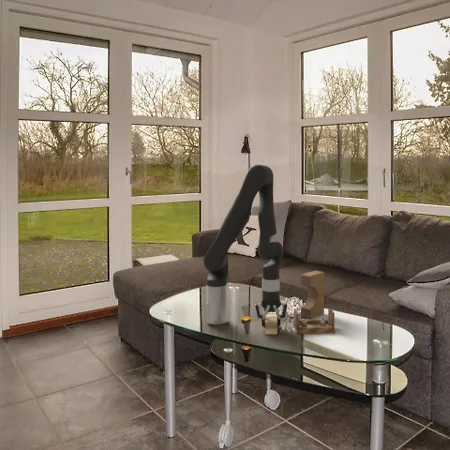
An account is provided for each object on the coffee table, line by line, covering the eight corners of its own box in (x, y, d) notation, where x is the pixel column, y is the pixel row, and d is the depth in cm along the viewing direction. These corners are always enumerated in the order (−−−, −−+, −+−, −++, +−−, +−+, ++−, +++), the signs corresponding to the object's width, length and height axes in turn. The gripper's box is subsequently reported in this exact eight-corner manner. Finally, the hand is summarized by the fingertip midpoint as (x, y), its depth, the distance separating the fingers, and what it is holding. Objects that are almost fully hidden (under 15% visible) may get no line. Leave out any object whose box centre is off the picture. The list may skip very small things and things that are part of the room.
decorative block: (309, 319, 231) (310, 276, 228) (300, 316, 235) (300, 274, 232) (324, 314, 238) (325, 272, 235) (315, 311, 242) (315, 270, 239)
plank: (277, 334, 213) (277, 322, 212) (265, 334, 213) (265, 322, 213) (276, 324, 225) (276, 313, 224) (265, 324, 225) (265, 313, 224)
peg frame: (296, 333, 213) (297, 315, 212) (293, 325, 223) (293, 308, 222) (335, 332, 214) (335, 314, 213) (329, 324, 224) (329, 307, 222)
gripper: (254, 291, 213) (255, 330, 215) (289, 290, 213) (289, 329, 215) (253, 286, 220) (253, 324, 222) (286, 285, 220) (286, 323, 223)
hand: (271, 326), depth 219 cm, fingers closed on plank, 5 cm apart
